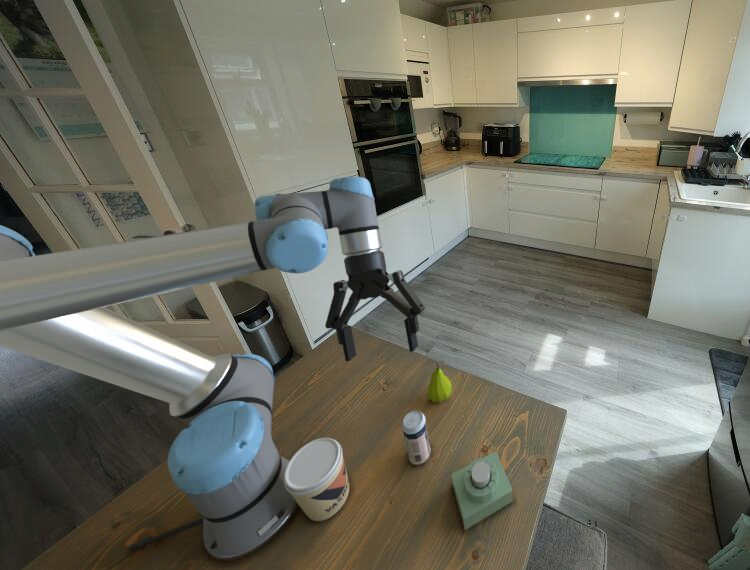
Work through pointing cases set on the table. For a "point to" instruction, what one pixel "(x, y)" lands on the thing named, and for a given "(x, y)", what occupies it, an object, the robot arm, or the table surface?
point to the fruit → (439, 386)
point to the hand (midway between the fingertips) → (382, 353)
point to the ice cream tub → (318, 478)
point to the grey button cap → (480, 474)
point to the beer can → (416, 437)
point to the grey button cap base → (481, 491)
